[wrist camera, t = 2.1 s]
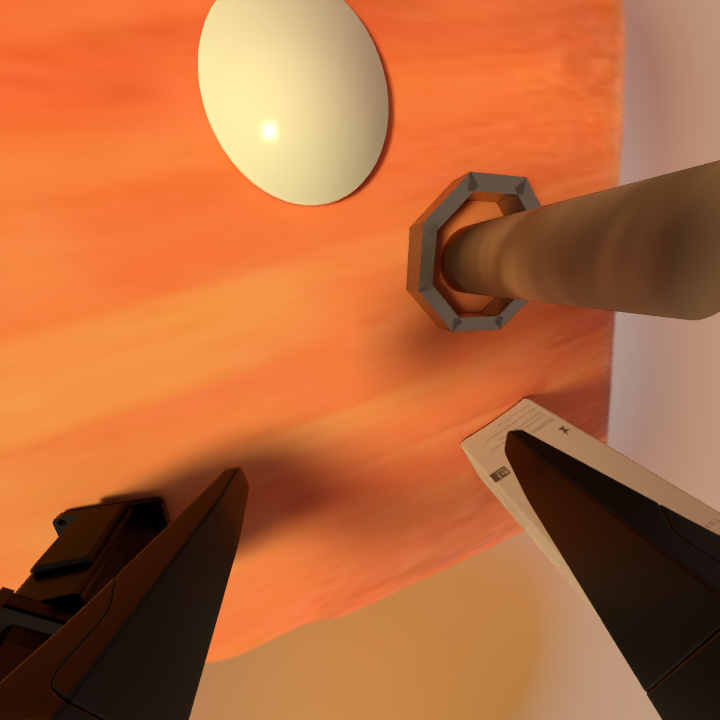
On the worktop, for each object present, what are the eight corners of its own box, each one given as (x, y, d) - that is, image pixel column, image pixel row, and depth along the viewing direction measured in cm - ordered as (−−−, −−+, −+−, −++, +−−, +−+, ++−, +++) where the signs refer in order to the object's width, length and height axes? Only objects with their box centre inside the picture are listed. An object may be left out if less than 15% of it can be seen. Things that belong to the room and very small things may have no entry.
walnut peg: (491, 292, 22) (740, 317, 10) (437, 293, 21) (643, 323, 9) (501, 226, 20) (810, 160, 8) (443, 223, 19) (705, 142, 7)
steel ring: (512, 323, 23) (532, 327, 21) (404, 328, 21) (415, 334, 19) (537, 189, 20) (562, 180, 18) (412, 178, 18) (426, 166, 16)
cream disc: (382, 211, 18) (385, 209, 17) (218, 201, 15) (215, 198, 15) (388, 5, 15) (391, -5, 14) (183, -44, 12) (178, -59, 12)
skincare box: (524, 395, 26) (785, 532, 12) (540, 435, 28) (774, 589, 15) (454, 445, 26) (640, 642, 12) (476, 481, 28) (653, 682, 14)
